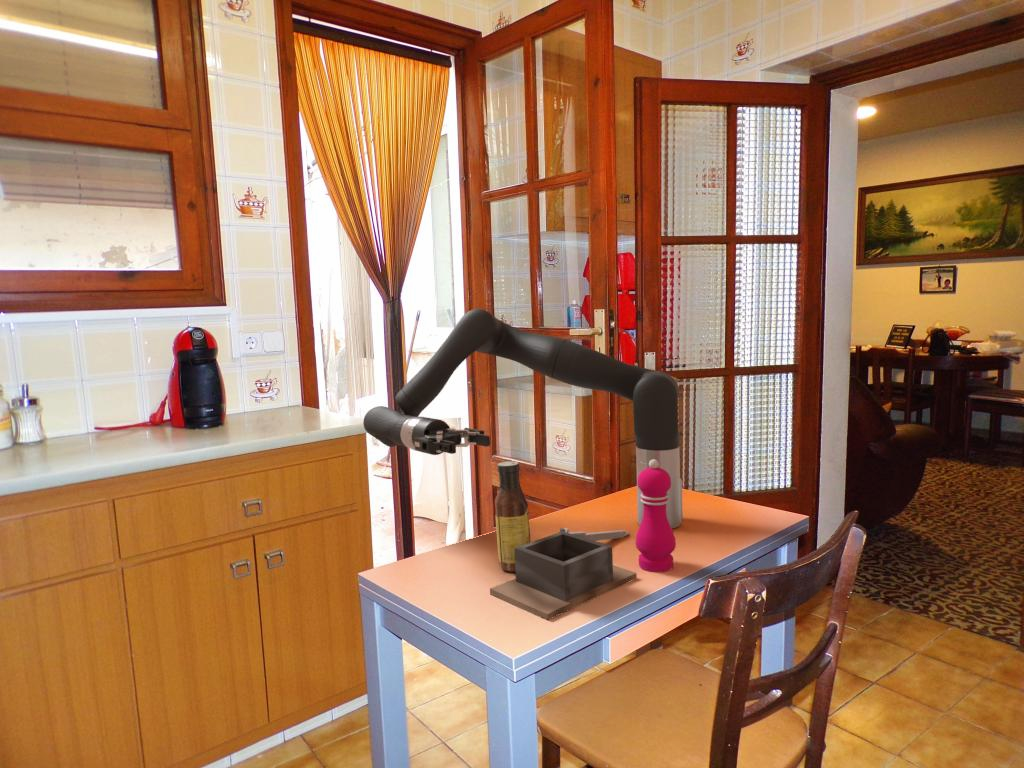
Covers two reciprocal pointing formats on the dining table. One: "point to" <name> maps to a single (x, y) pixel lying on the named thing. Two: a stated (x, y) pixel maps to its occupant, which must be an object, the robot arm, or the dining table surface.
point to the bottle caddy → (561, 574)
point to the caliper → (599, 534)
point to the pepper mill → (655, 520)
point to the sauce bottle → (510, 515)
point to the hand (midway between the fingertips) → (472, 444)
